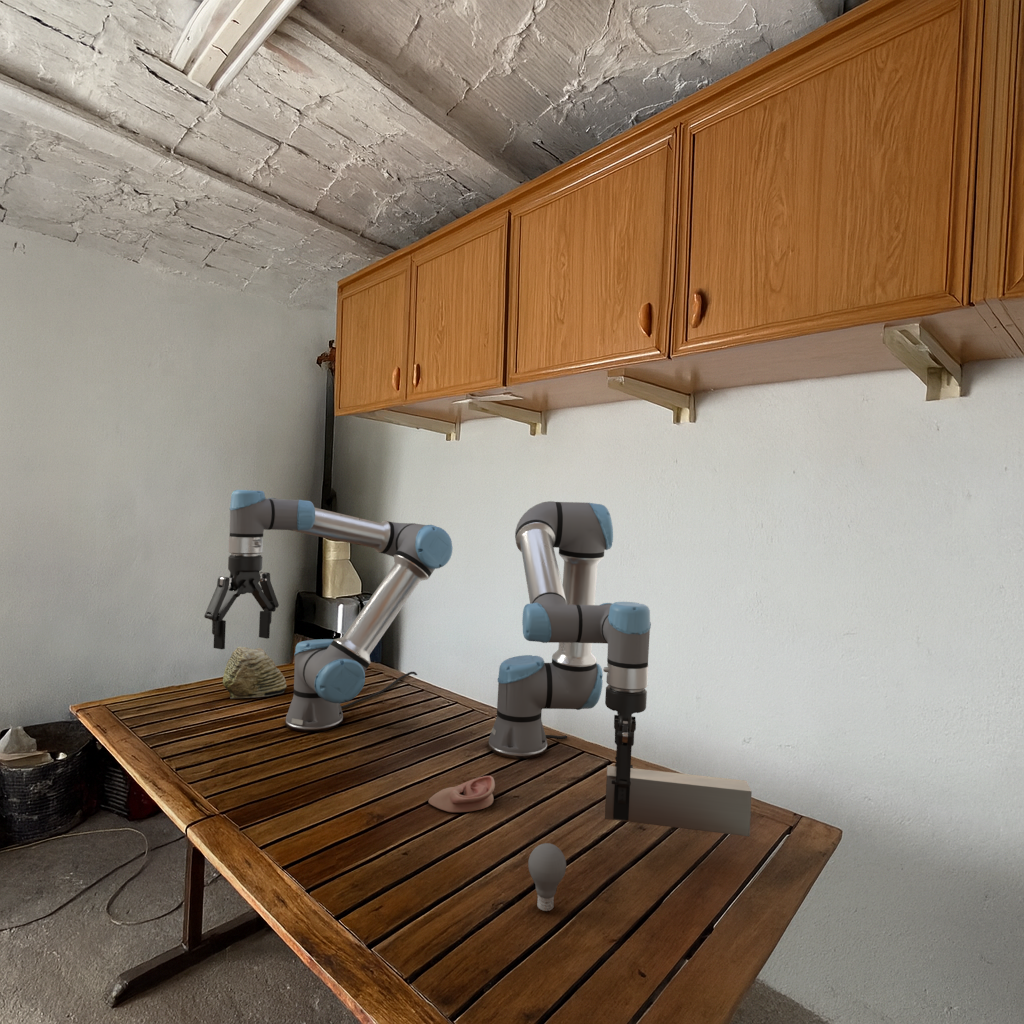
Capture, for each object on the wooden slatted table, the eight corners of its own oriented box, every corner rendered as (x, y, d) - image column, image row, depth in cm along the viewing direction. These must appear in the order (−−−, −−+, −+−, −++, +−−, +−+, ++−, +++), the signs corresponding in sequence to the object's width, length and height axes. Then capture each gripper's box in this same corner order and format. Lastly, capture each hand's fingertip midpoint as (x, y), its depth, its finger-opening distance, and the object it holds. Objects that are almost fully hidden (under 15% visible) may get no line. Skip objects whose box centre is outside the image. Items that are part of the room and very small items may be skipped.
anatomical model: (423, 789, 130) (441, 766, 141) (423, 808, 130) (440, 784, 141) (486, 798, 127) (499, 774, 139) (485, 817, 128) (498, 792, 139)
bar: (744, 824, 116) (746, 780, 116) (749, 836, 112) (751, 791, 112) (605, 807, 120) (607, 765, 120) (604, 818, 116) (606, 775, 116)
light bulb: (524, 896, 103) (527, 835, 103) (560, 896, 103) (563, 835, 103) (528, 921, 97) (531, 856, 97) (567, 920, 97) (570, 856, 97)
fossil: (218, 695, 195) (220, 647, 195) (278, 685, 208) (279, 640, 207) (228, 703, 189) (230, 653, 188) (289, 692, 201) (290, 645, 201)
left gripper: (213, 559, 138) (210, 655, 139) (295, 552, 161) (292, 635, 162) (189, 556, 141) (185, 651, 142) (272, 550, 164) (269, 631, 165)
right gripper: (606, 673, 127) (601, 789, 127) (604, 698, 109) (598, 833, 110) (645, 676, 126) (639, 793, 126) (649, 702, 108) (643, 838, 108)
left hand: (242, 643), depth 152 cm, fingers open, 13 cm apart
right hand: (620, 811), depth 118 cm, fingers closed on bar, 5 cm apart
